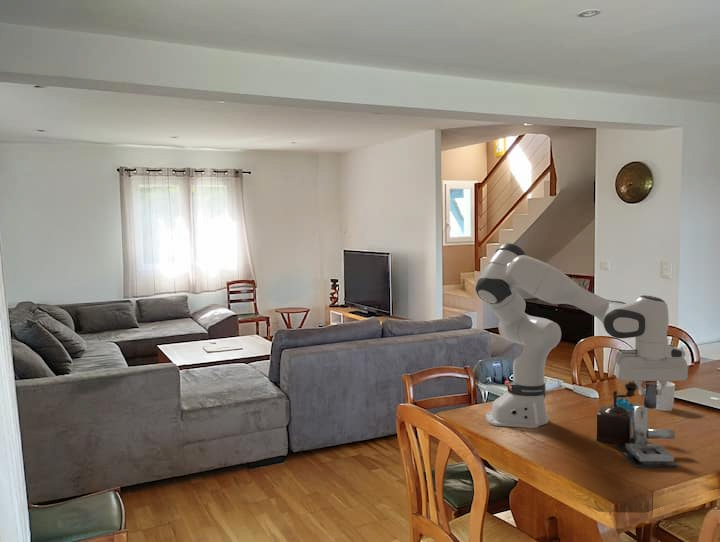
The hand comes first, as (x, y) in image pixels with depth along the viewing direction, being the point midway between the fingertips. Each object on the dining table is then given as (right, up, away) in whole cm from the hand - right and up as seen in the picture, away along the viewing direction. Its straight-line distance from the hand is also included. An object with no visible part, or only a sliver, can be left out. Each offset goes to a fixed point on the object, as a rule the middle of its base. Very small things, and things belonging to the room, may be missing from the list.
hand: (650, 394), depth 180 cm
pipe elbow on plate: (+3, -20, +5) cm, 21 cm away
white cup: (+30, -16, +52) cm, 62 cm away
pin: (0, -4, 0) cm, 4 cm away
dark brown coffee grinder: (0, -19, +23) cm, 30 cm away
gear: (+11, -18, +40) cm, 45 cm away
